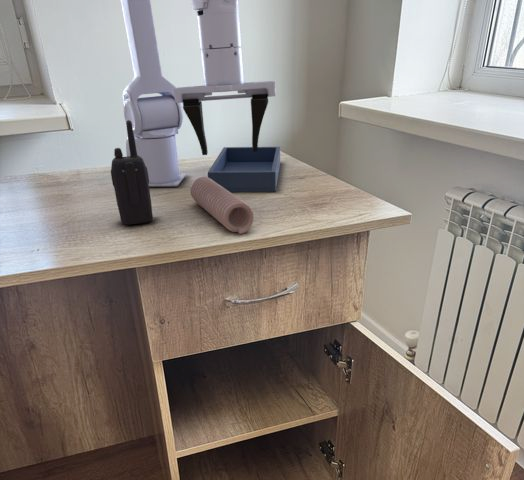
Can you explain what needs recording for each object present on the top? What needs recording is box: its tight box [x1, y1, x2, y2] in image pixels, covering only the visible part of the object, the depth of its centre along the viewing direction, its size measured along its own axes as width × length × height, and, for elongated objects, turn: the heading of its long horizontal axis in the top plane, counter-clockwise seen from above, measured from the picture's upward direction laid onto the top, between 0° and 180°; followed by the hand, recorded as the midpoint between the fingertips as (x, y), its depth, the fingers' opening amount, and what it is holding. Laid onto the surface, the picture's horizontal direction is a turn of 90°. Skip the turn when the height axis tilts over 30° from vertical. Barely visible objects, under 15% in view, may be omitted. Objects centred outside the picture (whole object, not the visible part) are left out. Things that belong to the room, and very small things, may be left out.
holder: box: [207, 146, 281, 193], centre depth 102 cm, size 13×23×4 cm, turn 176°
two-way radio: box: [110, 120, 154, 226], centre depth 76 cm, size 6×4×15 cm
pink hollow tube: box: [190, 176, 255, 235], centre depth 80 cm, size 5×5×18 cm
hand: (230, 152), depth 76 cm, fingers open, 7 cm apart
